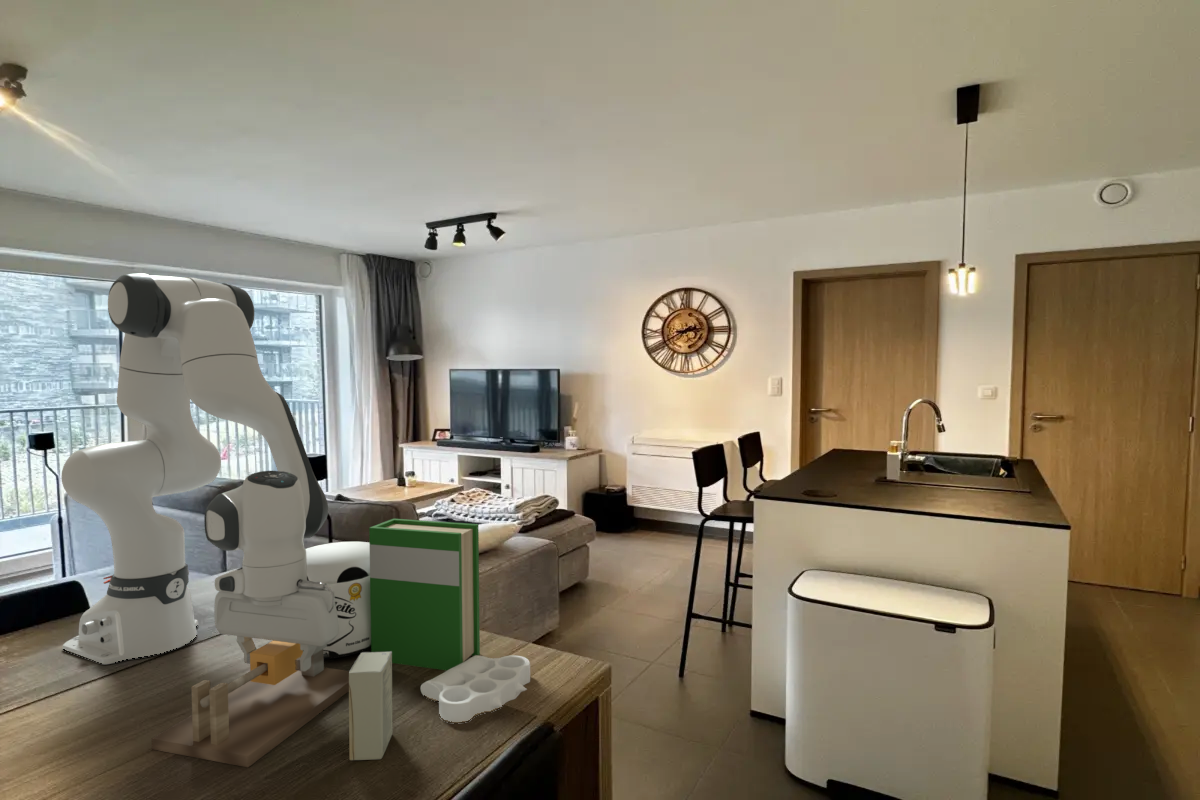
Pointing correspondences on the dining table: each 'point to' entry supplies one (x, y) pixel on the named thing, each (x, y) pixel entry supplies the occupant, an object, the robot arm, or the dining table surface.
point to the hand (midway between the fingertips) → (277, 665)
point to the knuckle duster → (478, 686)
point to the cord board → (252, 713)
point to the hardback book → (425, 592)
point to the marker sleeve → (275, 661)
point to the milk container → (345, 592)
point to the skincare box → (370, 705)
